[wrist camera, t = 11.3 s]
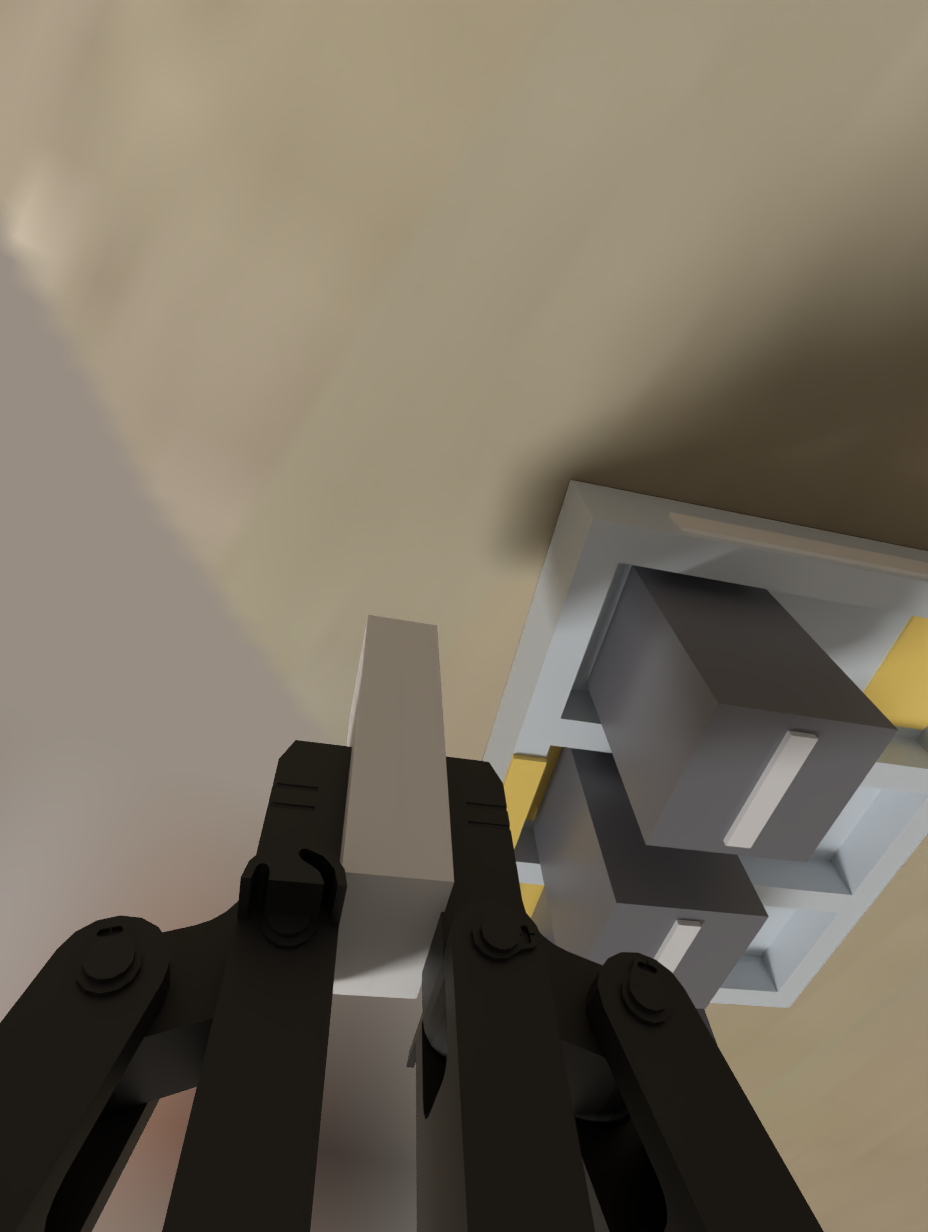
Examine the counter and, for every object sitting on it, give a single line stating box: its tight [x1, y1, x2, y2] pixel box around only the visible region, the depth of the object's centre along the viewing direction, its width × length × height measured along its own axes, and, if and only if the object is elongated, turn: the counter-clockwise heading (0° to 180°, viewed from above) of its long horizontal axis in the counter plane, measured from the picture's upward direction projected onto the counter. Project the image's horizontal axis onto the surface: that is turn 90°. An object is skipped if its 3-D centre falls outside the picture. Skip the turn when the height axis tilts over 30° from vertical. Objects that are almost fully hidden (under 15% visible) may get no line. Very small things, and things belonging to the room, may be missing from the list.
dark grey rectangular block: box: [587, 565, 898, 862], centre depth 17 cm, size 4×4×6 cm
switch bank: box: [483, 480, 928, 1008], centre depth 23 cm, size 19×15×3 cm
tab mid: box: [532, 747, 769, 1009], centre depth 20 cm, size 4×4×6 cm
